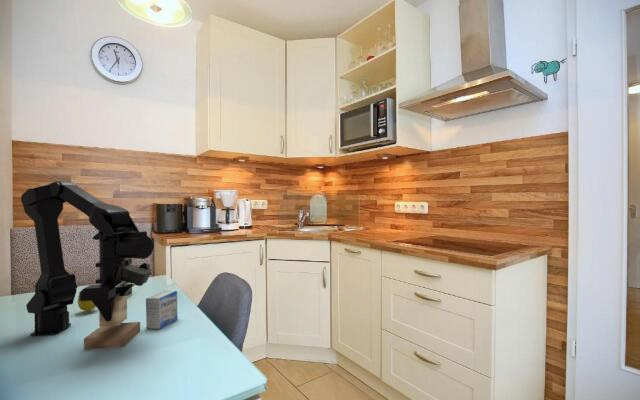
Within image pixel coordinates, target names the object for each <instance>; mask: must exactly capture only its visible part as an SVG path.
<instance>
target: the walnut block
mask: <svg viewBox="0 0 640 400" xmlns="http://www.w3.org/2000/svg"><path fill="white" fill-rule="evenodd" d="M140 332H141V321H134V322H133V321H132V322H130V321H129V322H122V323H121V324H120V325H113V326H99V327H98V328H97V329H95V330H94V331H92V332H91V333H90V334H88V335H87V336H85V337H84V338H83V350H91V349H107V348H111V349H112V348H124V347H126V346H127V344H129V343H130V341H132V339H134V338H135V337H136V336H137V335H138V334H139V333H140Z"/></svg>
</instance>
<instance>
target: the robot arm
mask: <svg viewBox="0 0 640 400" xmlns="http://www.w3.org/2000/svg"><path fill="white" fill-rule="evenodd" d="M20 202H21V204H22V207H23V211H24V214H26V215H27V216H28V218H30V219H31V221H33V224H34V231H35V238H36V239H35V240H36V245H37V252H38V257H39V266H40V276H39V278H38V279H37V281H36V283H35V284H34V294H33V296H32V297H31V298H30V300H28V302H27V303H26V304H25V307H26V310H27V313H28V314H34V331H33V332H31V333H29V336H32V337H33V336H34V337H35V336H45V335H46V336H48V335H58V334H59V333H60V332H63V331H64V330H66V329H67V328H68V327H70V326H72V323H70V311H69V310H68V306H69V305H73V304H74V301H75V298H76V295H77V290H78V285H77V281H76V279H77V278H76V275H75V273H71V274H70V273H69V272H68V270H66V267H65V261H64V255H63V254H64V253H63V247H62V240H61V233H60V225H59V217H60V215H61V213H62V212H63V210H64V204H65V203H68V204H69V205H70V206H73V207H74V208H75V209H77V210H79V212H81V213H82V214H85V216H87V217H88V222H89V223H90V224H91V226H93V227H94V228H95V230H97V231H98V232H97V233H96V234H95V235H93V236H92V240H96V241H98V245H99V249H98V251H99V260H98V261H97V262H95V268H98V271H99V272H98V273H99V278H97V279H95V284H90V285H88V286H86V287H83V288H82V290H80V291H79V292H78V297H79V301H92V302H93V303H94V305H95V306H96V307H95V308H97V310H98V312H99V311H100V313H101V314H102V316H103V318H104V319H105V321H111V319H112V313H113V306H114V300H115V299H116V298H117V297H118V296H126V294H127V292H128V291H129V290H130V289H131V288H132V289H133V287H134V286H137V287H141V286H143V285H144V284H146V283H147V282H148V281H149V277H150V276H151V275H152V272H151V271H152V269H151V268H150V267H151V266H150V264H149V263H147V262H143V263H141V264H140V265H133V264H132V265H130V260H129V259H126V258H132V259H138V260H145V259H147V258H149V257H150V256H151V255H152V253H153V252H154V247H155V246H154V245H155V244H154V242H153V240H152V238H151V237H150V236H148V231H145V230H142V231H140V230H139V228H138V226H137V225H136V224H135V222H134V220H133V218H132V217H131V215H130V214H131V213H130V212H129V210H128V209H126V208H124V207H121V206H118V205H115V204H109V203H107V202H106V203H105V202H103V201H102V200H101V199H98V198H97V197H96V196H95V195H92V194H91V193H89V192H88V191H86V190H85V189H83V188H81V187H79V186H78V184H77V183H75V182H74V181H73V182H72V181H61V180H57V181H53V182H51V183H49V184H45V185H42V186H40V185H39V186H37V187H33V188H28V189H27V190H25V192H23V193H22V194H21V197H20ZM129 283H132V284H129Z"/></svg>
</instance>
